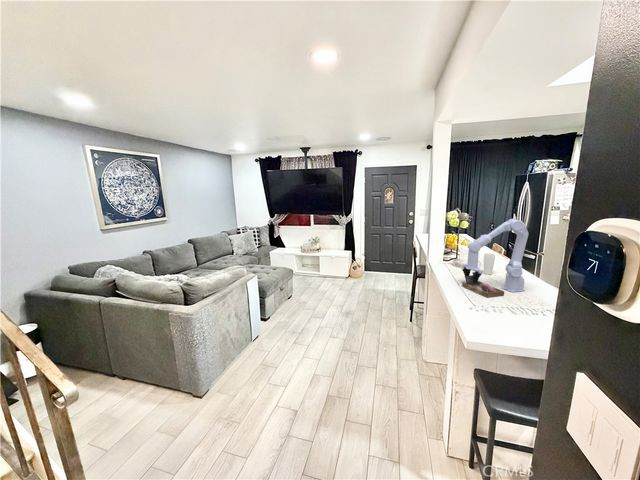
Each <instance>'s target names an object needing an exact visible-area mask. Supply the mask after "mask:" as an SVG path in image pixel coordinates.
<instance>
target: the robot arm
mask: <svg viewBox="0 0 640 480" xmlns="http://www.w3.org/2000/svg"><path fill="white" fill-rule="evenodd" d="M511 231H513V232H514V234H516V238H515V243H514V246H513V250H512V253H511V258H510V260H509V261H508V263H507V265H505V271H506V274H505V280H504V286H501V287H500V288H501V289H502V290H506V291H509V292H511V293H516V292H518V293H519V292H523V291H526V290H525V289H524V287H525V286H524V285H525V278H524V277H523V276H522V275H523V265H522V261H523V257H524V253H525V249H526V245H527V241H528V238H529V231H528V229H527V225H526V223H524V222H523V221H522V220H519V219H517V218H509V219H508V220H507V221H505V222H503V223H501V224H500V225H499V226H497V227H496V228H495V229H493V230H492V231H490V232H489V233H488V234H481V235H480V236H479V237H478V238H477V239H474V240H473V242H470V243H468V245H467V248H468V255H467V263H466V264H462V268H461V270H462V272H463V274H464V279H465V280H466V276H471V271H472V275H473V282H474V283H477V281H479V279H480V277H481V276H482V275H483V272H484V269H481V268H479V266H478V264H479V251H480V250H481V249H482V248H483V247H485V246H486V245H488V244H490V243H491V242H492V240H493V238H496V237H497V236H499V235H500V234H502V233H504V232H511Z"/></svg>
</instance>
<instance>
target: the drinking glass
mask: <svg viewBox="0 0 640 480" xmlns="http://www.w3.org/2000/svg"><path fill="white" fill-rule="evenodd" d="M495 260H496V255H495V254H494V253H488V252H486V253H484V254H483V274H485V275H492V274H493V271H494V270H493V269H494V265H495Z"/></svg>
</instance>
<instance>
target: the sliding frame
mask: <svg viewBox="0 0 640 480" xmlns="http://www.w3.org/2000/svg"><path fill="white" fill-rule="evenodd" d="M483 283H484V282H481V281H479V280H478V281H477V283H474V282H473V274H472V275H471V274H470V275H469V276H466V279H465V282H462V283H461V285H462V287H463V288H465V289H467V290H469V291H471V292H474V293H476V294H478V295H480V296H482V297H485V298H493V297H494V298H495V297H503V296H504V295H505V291H504V290H503V289H502V290H501V289H500V288H497V287H494V286H492V287H493V288H494V289H495V290H496V291H497V292H488V293H487V292H484V291H483V290H482V289H481V288H477V287H475V286H479V285H480V284H483ZM484 284H486V283H484Z"/></svg>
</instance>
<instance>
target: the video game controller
mask: <svg viewBox="0 0 640 480" xmlns="http://www.w3.org/2000/svg"><path fill="white" fill-rule="evenodd" d="M482 283H483V284H480V285H478V287H479V289H480V290H482V291H484V292H487V293H488V292H497V291H496V290H495V289H494V288H493V287H494V286H492V285H490V284H488V283H485V284H484V282H482Z"/></svg>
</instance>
